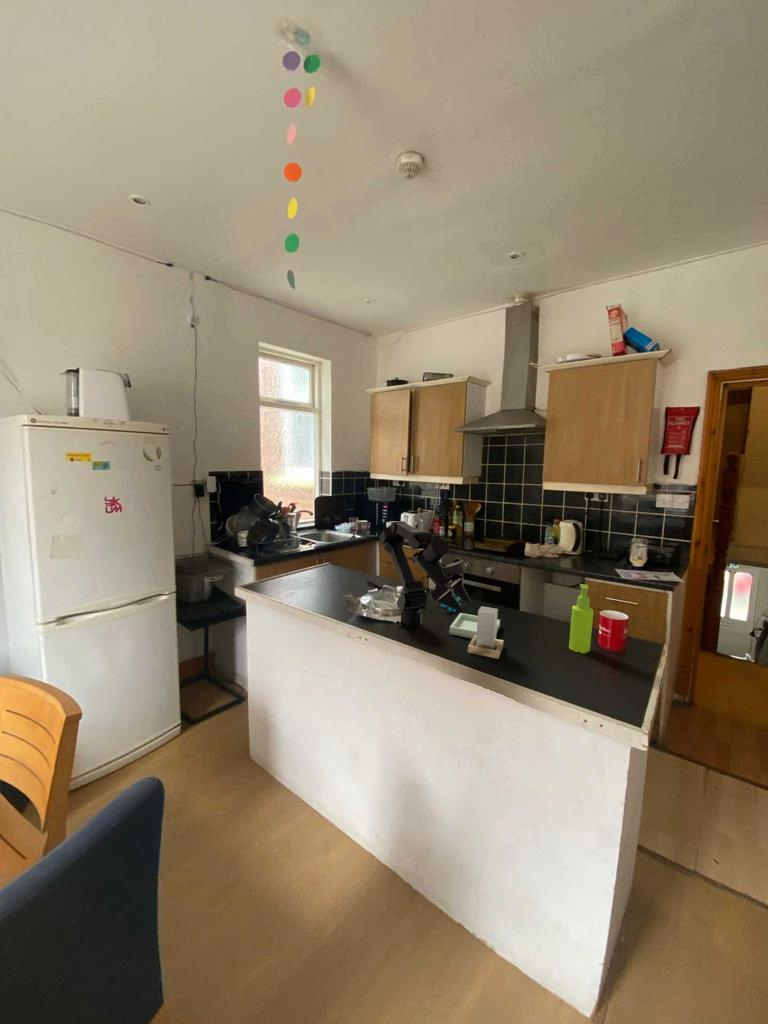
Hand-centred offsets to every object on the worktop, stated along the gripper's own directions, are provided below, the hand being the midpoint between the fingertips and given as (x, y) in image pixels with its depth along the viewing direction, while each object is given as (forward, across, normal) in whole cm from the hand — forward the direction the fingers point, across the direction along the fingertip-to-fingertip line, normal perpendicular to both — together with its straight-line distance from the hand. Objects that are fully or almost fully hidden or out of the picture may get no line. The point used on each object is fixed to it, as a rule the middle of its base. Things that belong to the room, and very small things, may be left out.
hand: (465, 606), depth 130 cm
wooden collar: (+14, 0, +4) cm, 14 cm away
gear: (0, +29, +18) cm, 34 cm away
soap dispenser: (+32, +14, -14) cm, 38 cm away
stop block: (+14, 0, +4) cm, 14 cm away
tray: (+9, +13, +8) cm, 18 cm away
